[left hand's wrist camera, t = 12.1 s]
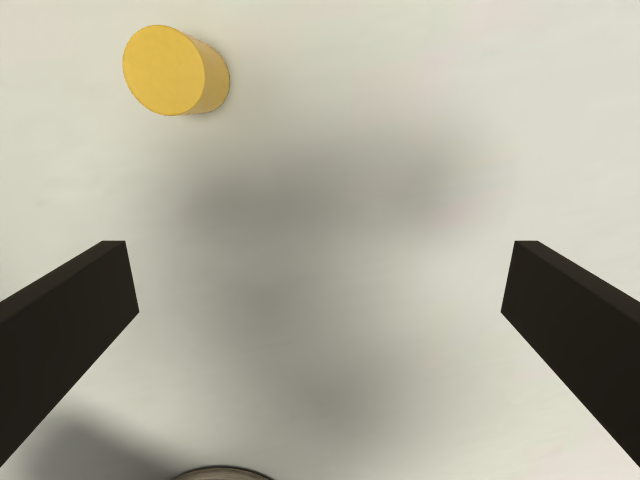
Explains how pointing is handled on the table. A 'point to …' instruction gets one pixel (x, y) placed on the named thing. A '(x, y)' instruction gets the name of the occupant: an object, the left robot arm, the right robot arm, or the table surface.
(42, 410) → the left robot arm
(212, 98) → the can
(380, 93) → the table surface
